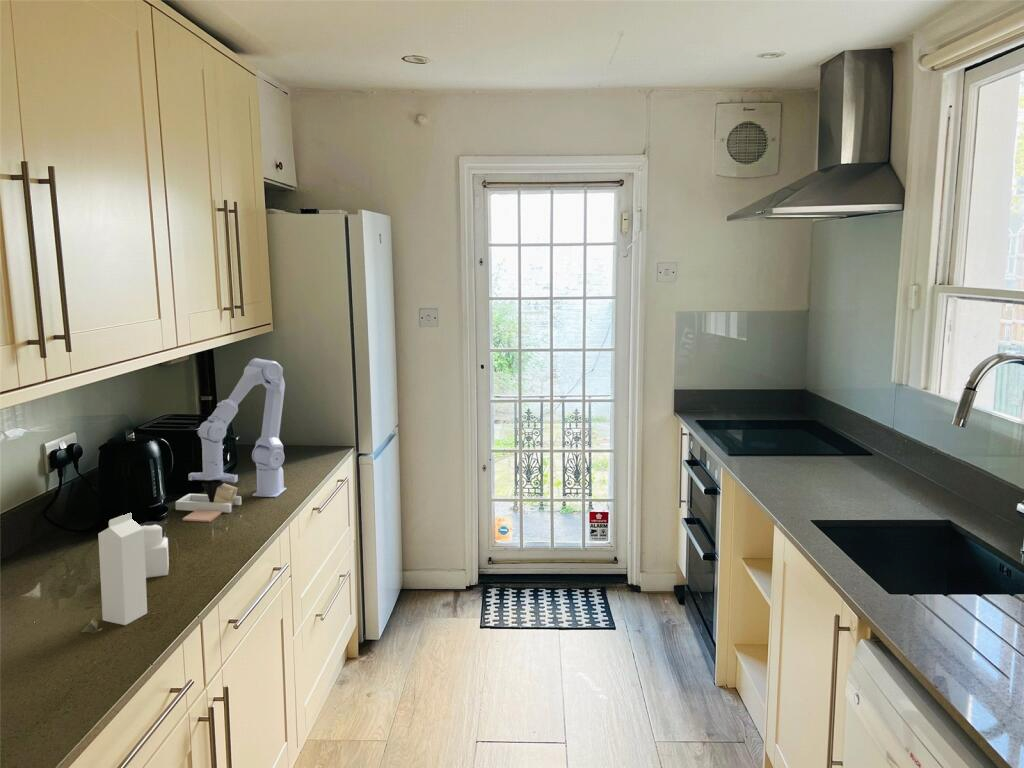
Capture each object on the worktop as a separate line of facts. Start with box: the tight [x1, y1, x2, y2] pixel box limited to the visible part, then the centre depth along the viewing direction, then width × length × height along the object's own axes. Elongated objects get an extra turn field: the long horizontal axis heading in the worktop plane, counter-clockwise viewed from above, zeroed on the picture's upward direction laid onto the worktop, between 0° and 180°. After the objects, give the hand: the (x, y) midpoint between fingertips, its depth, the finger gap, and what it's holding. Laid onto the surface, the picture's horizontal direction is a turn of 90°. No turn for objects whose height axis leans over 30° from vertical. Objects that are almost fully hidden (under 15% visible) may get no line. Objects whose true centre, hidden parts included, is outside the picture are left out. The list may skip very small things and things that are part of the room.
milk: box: [97, 512, 148, 626], centre depth 155 cm, size 6×6×22 cm
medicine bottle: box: [139, 520, 170, 579], centre depth 179 cm, size 7×7×12 cm
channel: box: [175, 493, 243, 513], centre depth 229 cm, size 8×17×2 cm, turn 86°
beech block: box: [214, 482, 239, 508], centre depth 228 cm, size 4×4×6 cm
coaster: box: [182, 510, 223, 523], centre depth 220 cm, size 8×8×1 cm
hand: (213, 503), depth 229 cm, fingers closed
